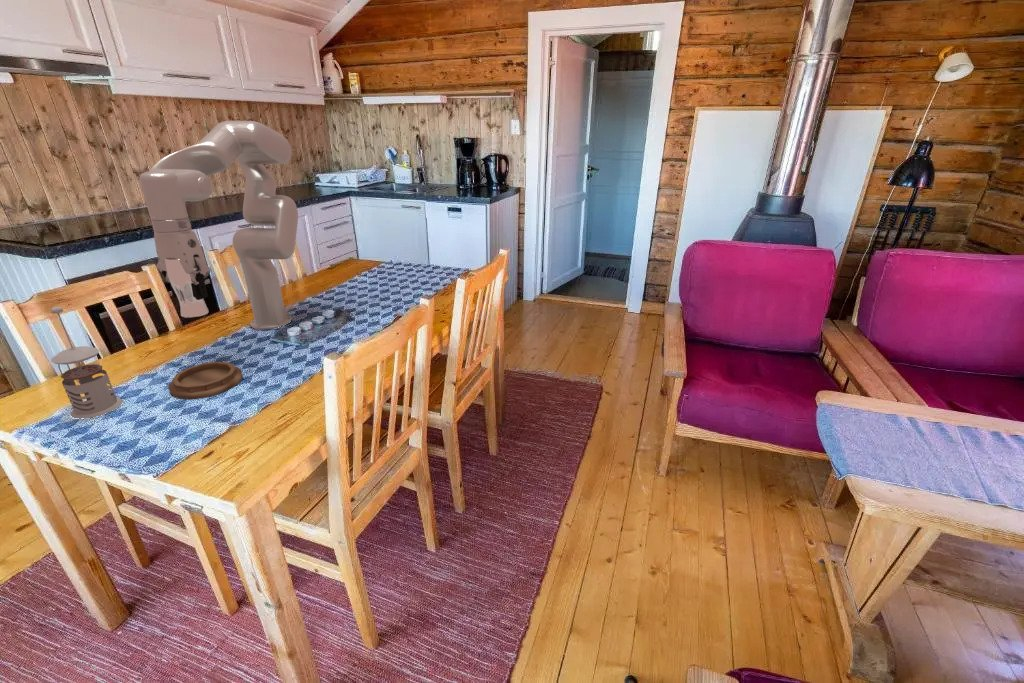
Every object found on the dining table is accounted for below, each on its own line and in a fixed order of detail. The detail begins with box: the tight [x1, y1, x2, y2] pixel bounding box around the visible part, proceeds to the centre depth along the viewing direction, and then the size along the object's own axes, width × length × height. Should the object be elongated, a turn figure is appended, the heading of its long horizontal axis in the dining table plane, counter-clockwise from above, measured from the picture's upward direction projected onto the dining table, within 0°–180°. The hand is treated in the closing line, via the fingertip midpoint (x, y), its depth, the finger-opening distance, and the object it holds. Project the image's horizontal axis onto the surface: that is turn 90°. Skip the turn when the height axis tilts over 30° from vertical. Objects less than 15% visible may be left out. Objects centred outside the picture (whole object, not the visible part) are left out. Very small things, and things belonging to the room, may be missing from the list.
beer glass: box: [164, 258, 209, 319], centre depth 119 cm, size 7×7×15 cm
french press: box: [50, 306, 124, 419], centre depth 105 cm, size 10×12×25 cm
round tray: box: [168, 361, 244, 400], centre depth 120 cm, size 16×16×3 cm
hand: (190, 296), depth 120 cm, fingers closed on beer glass, 6 cm apart
